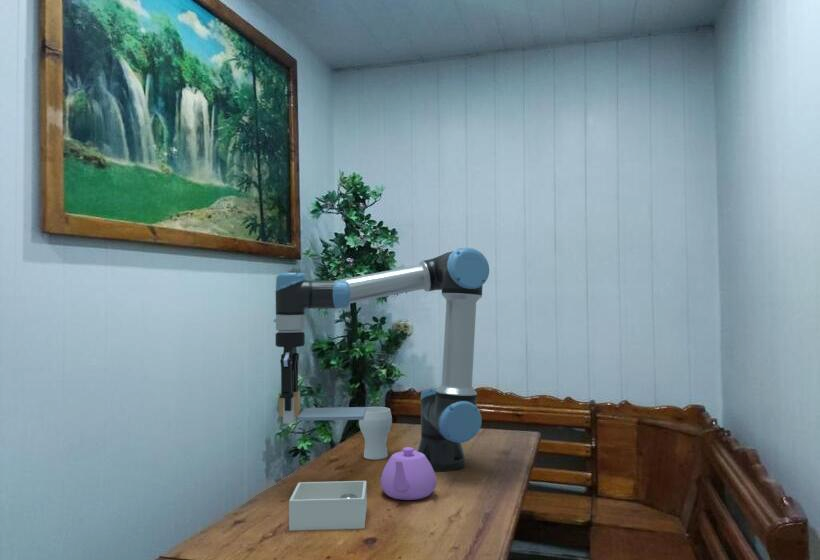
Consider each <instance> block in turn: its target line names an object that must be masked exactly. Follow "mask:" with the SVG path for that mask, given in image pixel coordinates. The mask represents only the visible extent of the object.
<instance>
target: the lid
mask: <svg viewBox="0 0 820 560" xmlns="http://www.w3.org/2000/svg"><path fill="white" fill-rule="evenodd" d="M280 396H281V391H280V392H279V393H278V418H283V398H280ZM293 397H294V417H297V420H296V421H298V422H300V421H301V422H303V421H304V422H306V421H354V420H355V421H359V420H364V416H365V412H366V408H367V407H366V406H355V407H353V406H351V407H350V406H348V407H344V406H342V407H340V406H339V407H304V409H303V410H302V411H301V391H300V392H293Z"/></svg>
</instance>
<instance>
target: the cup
mask: <svg viewBox="0 0 820 560" xmlns="http://www.w3.org/2000/svg"><path fill="white" fill-rule="evenodd" d="M392 424H393V417H392V412H391V408H389V407H384V406H369V407H366V412H365V416H364V420H358V425H359V428H360V432H361V434H362V435H363V438H364V450H363V451H364V452H363V458H365V459H367V460H383V459H386V458H388V457H389V453H388V448H387V440H388V435H389V433H390V431H391V428H392Z"/></svg>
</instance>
